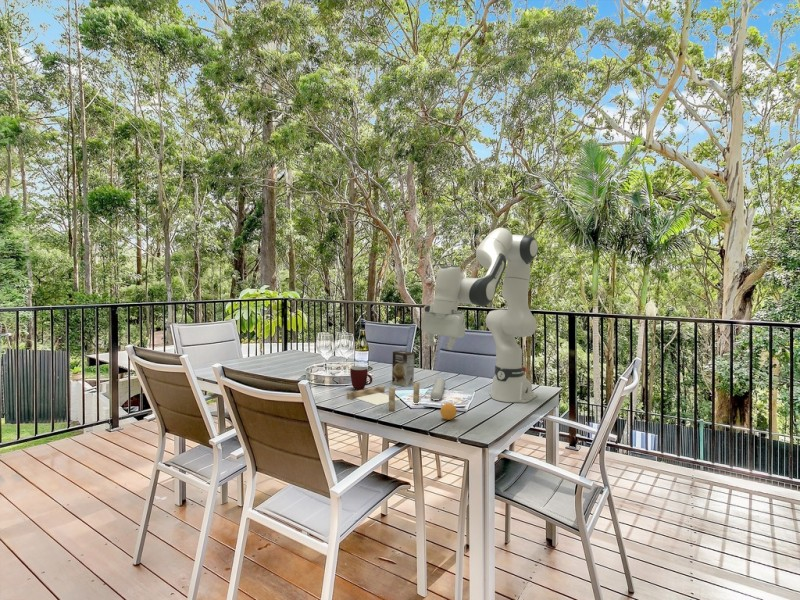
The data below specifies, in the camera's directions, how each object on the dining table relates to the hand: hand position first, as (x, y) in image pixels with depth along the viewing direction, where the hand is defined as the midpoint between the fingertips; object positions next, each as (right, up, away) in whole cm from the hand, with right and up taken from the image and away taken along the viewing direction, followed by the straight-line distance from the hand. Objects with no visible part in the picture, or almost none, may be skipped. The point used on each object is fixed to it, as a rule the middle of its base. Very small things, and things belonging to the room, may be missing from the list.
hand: (440, 347), depth 165 cm
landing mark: (-24, -26, +34) cm, 48 cm away
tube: (+3, -26, +44) cm, 51 cm away
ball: (+4, -25, +7) cm, 26 cm away
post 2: (-8, -26, +27) cm, 38 cm away
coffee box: (-13, -25, +61) cm, 67 cm away
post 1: (-18, -27, +17) cm, 36 cm away
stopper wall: (-29, -25, +40) cm, 55 cm away
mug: (-32, -25, +49) cm, 64 cm away
